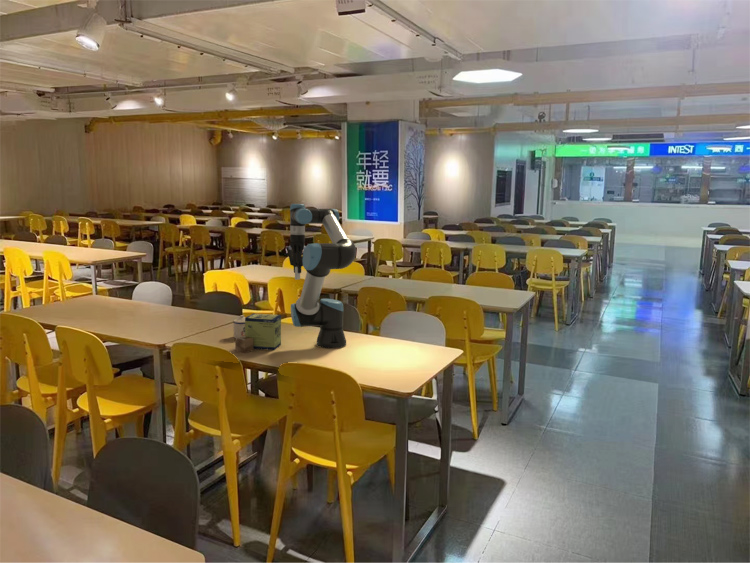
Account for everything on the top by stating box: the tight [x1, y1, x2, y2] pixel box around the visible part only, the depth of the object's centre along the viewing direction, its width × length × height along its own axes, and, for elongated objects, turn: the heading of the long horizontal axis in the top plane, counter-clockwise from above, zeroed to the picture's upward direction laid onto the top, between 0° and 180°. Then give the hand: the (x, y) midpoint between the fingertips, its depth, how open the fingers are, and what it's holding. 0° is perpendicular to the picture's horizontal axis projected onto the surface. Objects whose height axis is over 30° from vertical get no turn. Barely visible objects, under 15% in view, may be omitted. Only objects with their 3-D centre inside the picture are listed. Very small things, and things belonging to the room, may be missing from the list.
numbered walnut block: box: [234, 337, 254, 354], centre depth 276 cm, size 6×6×6 cm
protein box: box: [245, 313, 282, 351], centre depth 283 cm, size 10×16×16 cm
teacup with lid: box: [232, 314, 246, 339], centre depth 301 cm, size 12×9×12 cm
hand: (297, 279), depth 297 cm, fingers closed
